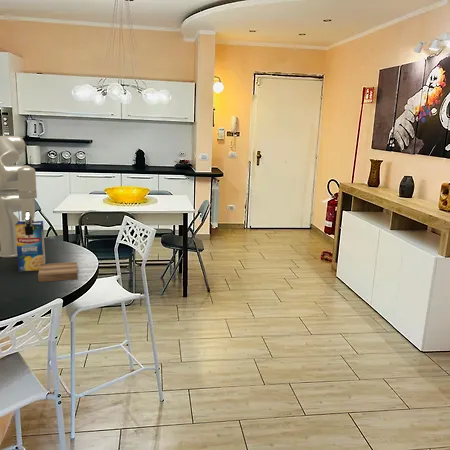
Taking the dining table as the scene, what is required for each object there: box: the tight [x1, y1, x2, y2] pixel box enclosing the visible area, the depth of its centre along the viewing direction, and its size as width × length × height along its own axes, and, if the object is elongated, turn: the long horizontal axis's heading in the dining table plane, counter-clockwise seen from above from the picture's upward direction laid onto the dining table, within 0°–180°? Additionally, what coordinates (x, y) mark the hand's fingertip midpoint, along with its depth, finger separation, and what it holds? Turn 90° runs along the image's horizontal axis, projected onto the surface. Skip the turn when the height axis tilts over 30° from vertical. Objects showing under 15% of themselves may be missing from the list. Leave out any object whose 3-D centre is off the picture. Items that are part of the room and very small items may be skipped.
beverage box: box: [15, 220, 46, 272], centre depth 204 cm, size 7×11×22 cm, turn 105°
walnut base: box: [37, 261, 78, 283], centre depth 199 cm, size 16×16×3 cm
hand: (30, 232), depth 202 cm, fingers closed on beverage box, 7 cm apart
